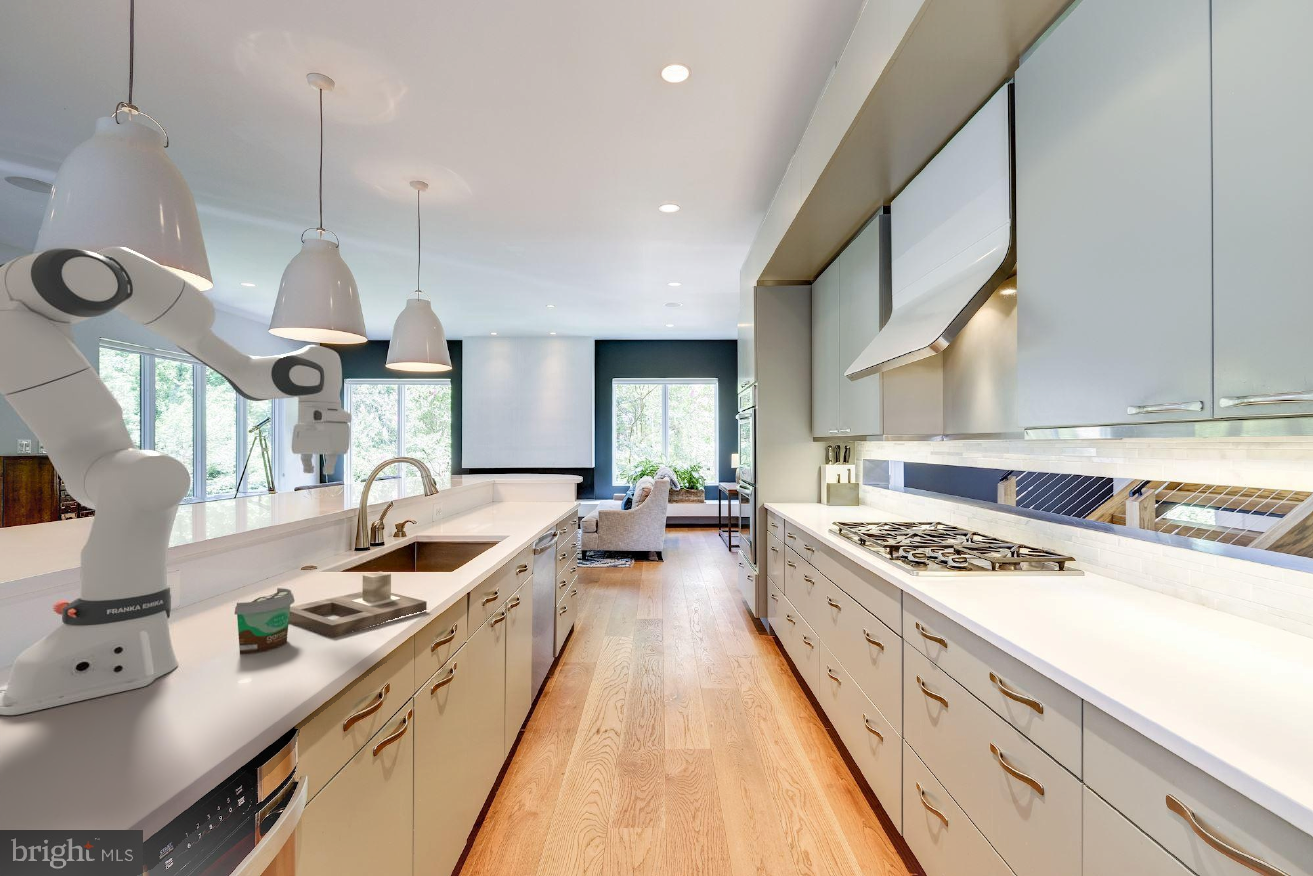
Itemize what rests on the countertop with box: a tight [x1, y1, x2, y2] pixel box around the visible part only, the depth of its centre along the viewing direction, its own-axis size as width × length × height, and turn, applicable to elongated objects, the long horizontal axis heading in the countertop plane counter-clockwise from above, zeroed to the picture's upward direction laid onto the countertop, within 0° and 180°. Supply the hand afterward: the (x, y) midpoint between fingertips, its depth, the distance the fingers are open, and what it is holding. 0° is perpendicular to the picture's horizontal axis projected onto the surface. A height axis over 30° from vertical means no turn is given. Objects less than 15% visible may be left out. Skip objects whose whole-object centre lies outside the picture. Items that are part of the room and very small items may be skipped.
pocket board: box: [289, 590, 428, 638], centre depth 133 cm, size 22×22×3 cm
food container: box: [234, 587, 295, 655], centre depth 113 cm, size 12×6×10 cm, turn 179°
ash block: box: [362, 571, 392, 603], centre depth 137 cm, size 4×4×6 cm
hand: (318, 473), depth 134 cm, fingers open, 8 cm apart
